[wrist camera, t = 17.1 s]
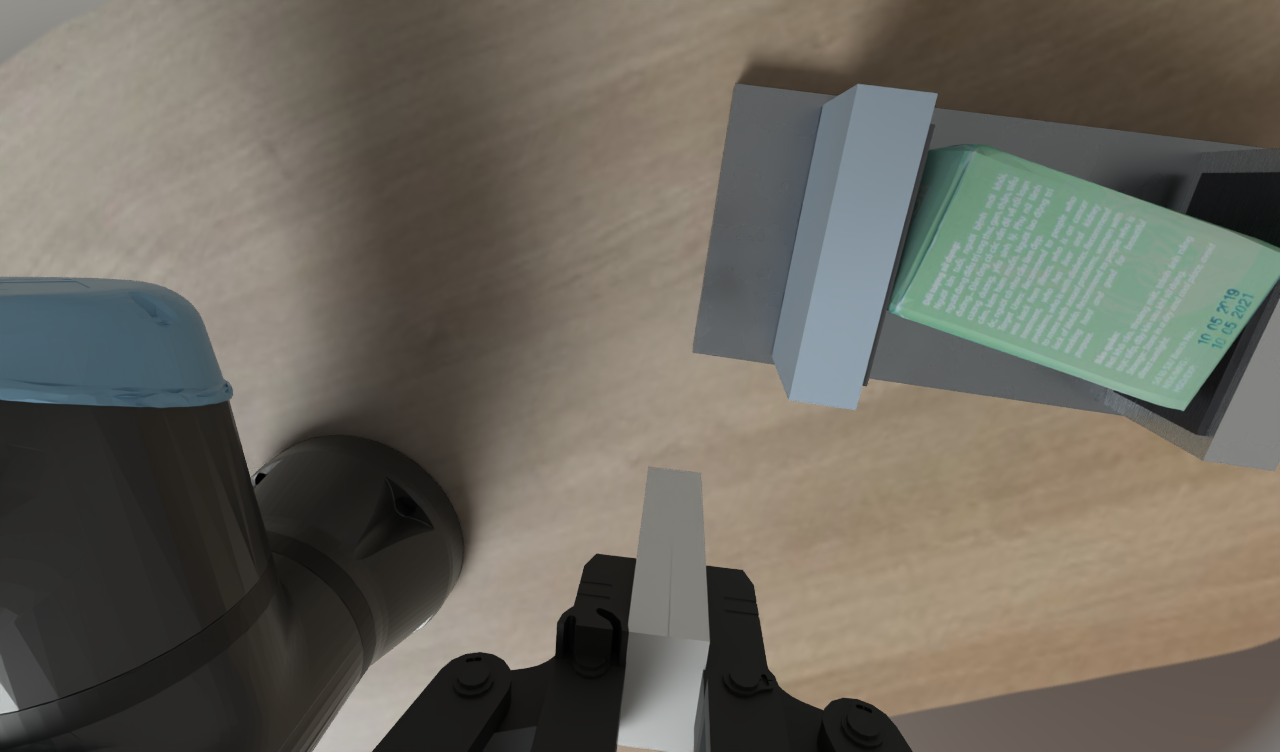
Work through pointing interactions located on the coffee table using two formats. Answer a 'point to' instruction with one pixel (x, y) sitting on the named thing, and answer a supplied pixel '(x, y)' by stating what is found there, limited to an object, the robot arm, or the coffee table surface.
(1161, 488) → the coffee table surface
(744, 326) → the vise
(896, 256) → the block
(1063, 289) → the box
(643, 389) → the coffee table surface
